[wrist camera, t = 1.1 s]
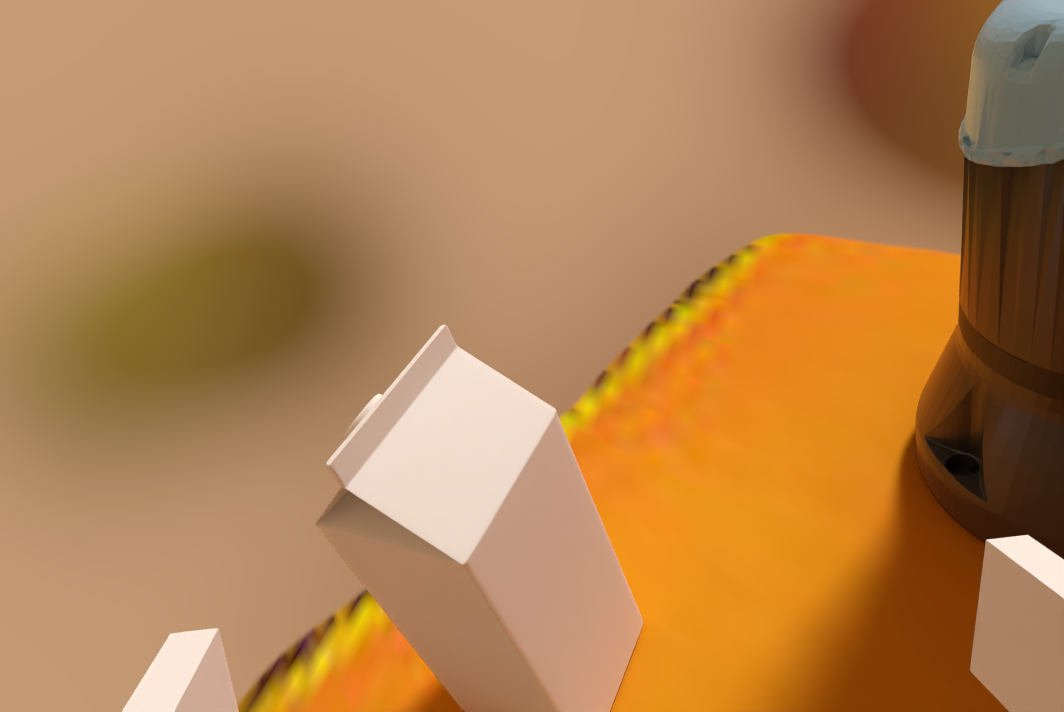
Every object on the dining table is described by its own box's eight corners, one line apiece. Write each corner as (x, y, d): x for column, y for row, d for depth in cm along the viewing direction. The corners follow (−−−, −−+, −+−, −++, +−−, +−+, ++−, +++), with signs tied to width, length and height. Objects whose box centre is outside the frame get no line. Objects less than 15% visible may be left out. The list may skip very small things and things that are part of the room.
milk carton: (645, 622, 35) (523, 327, 24) (590, 766, 31) (411, 482, 20) (527, 589, 39) (376, 321, 28) (463, 713, 35) (255, 450, 24)
